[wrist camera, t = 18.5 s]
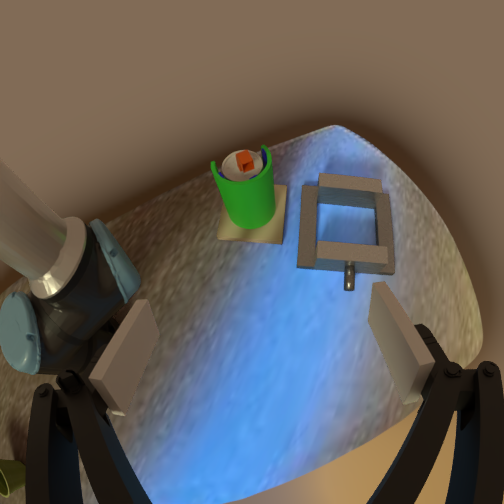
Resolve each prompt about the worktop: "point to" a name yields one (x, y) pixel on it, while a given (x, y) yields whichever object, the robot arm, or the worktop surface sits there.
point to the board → (261, 235)
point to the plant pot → (11, 476)
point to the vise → (346, 254)
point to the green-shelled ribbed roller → (247, 187)
